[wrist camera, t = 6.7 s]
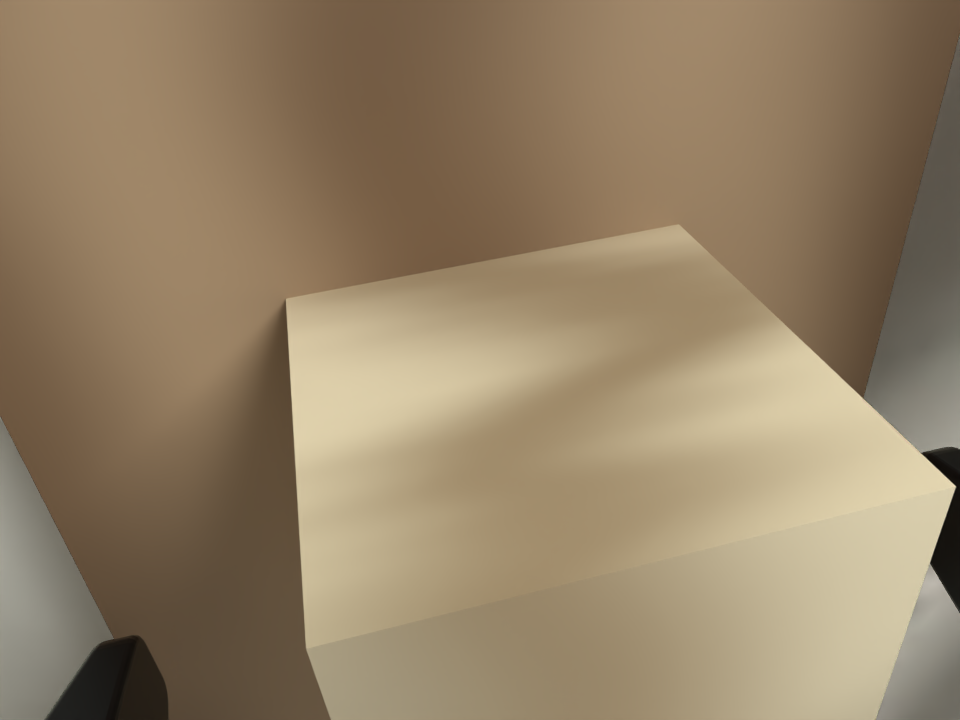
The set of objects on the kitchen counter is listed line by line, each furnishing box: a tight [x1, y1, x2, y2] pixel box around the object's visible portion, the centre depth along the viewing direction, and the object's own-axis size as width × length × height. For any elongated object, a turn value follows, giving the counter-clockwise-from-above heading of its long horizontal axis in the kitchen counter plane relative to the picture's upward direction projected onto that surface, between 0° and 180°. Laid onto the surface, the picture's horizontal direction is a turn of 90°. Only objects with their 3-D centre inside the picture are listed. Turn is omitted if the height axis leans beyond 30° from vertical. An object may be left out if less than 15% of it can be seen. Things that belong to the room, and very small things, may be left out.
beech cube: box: [286, 224, 956, 720], centre depth 9 cm, size 5×5×5 cm
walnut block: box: [0, 0, 960, 720], centre depth 13 cm, size 12×14×4 cm
